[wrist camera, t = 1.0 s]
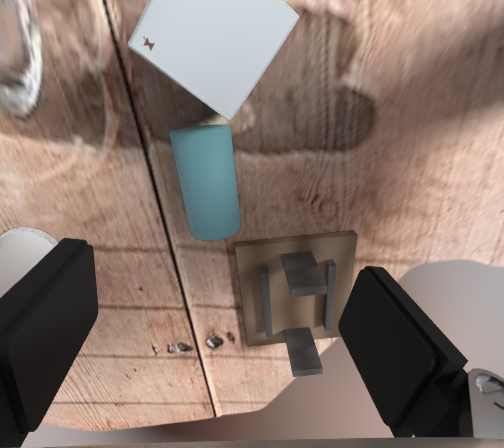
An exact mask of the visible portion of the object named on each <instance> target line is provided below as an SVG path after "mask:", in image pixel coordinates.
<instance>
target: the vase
mask: <svg viewBox="0 0 504 448" xmlns="http://www.w3.org/2000/svg"><path fill="white" fill-rule="evenodd" d="M57 244H58V242H57V241H56V240H55V239H54V238H53V237H51V236H50V235H48V234H47V233H45V232H43V231H41V230H38V229H34V228H30V227H17V228H13V229H11V230H9V231H7V232H6V233H4V234H3V235H1V236H0V298H1V297H2V296H3V295H4V294H5V293H6V292H7V291H8V290H9V289H10V288H11V287H12V286H13V285H14V284H15V283H16V282H18V281H19V280H20V279H21V278H22V277H23V276H25V275H26V274H27V273H28V272H29V271H30V270H31V269H32V268H33V267H34V266H35V265H36V264H37V263H38V262H39V261H40V260H41V259H42V258H43V257H44V256H45V255H46V254H48V253H49V252H50V251H51V250H52V249H53V248H54V247H55V246H56V245H57Z"/></svg>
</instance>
